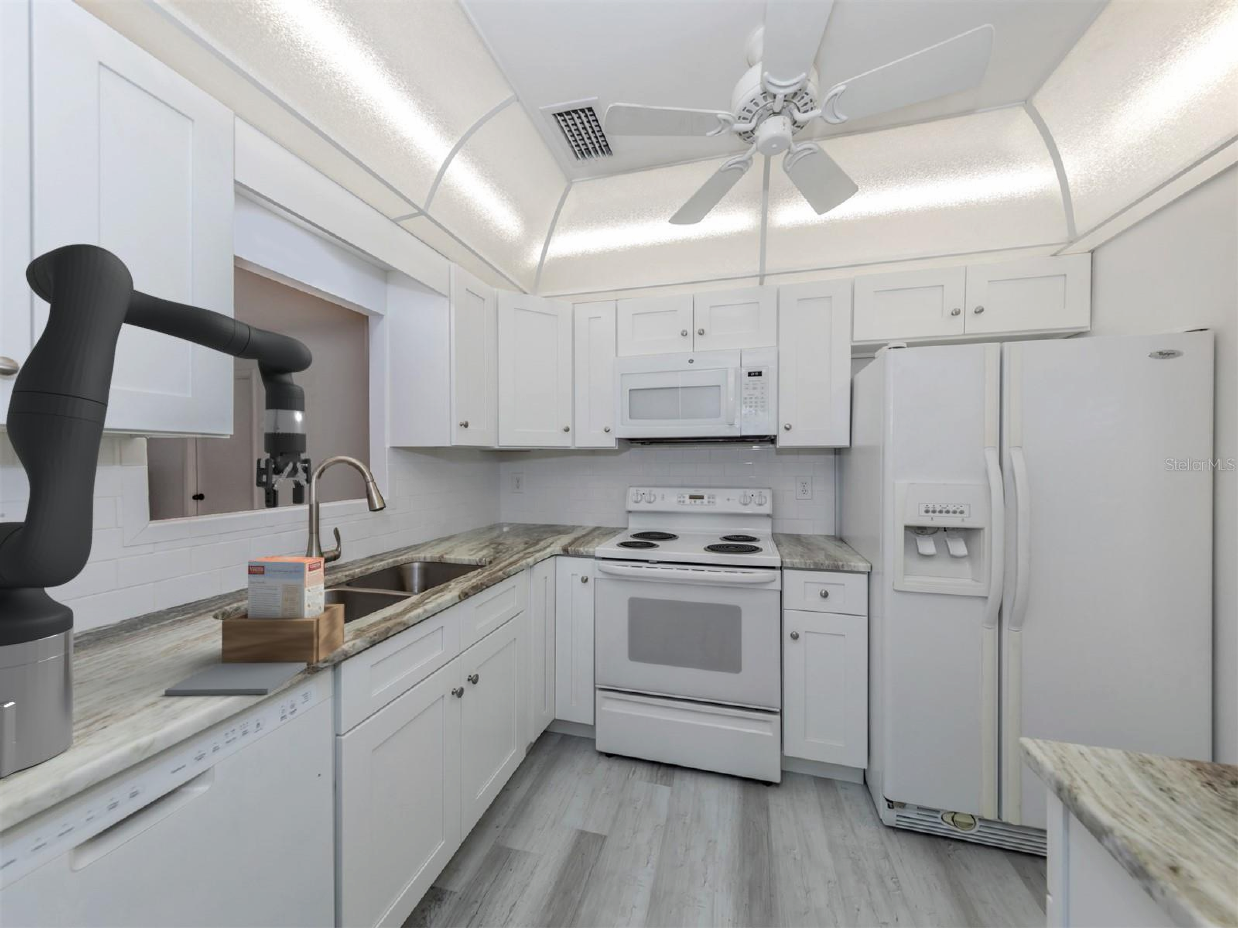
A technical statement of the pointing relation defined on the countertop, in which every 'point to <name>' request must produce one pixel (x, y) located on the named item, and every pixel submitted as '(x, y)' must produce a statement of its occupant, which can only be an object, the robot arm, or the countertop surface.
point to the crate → (282, 637)
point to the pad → (237, 679)
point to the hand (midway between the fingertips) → (285, 505)
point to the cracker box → (285, 587)
